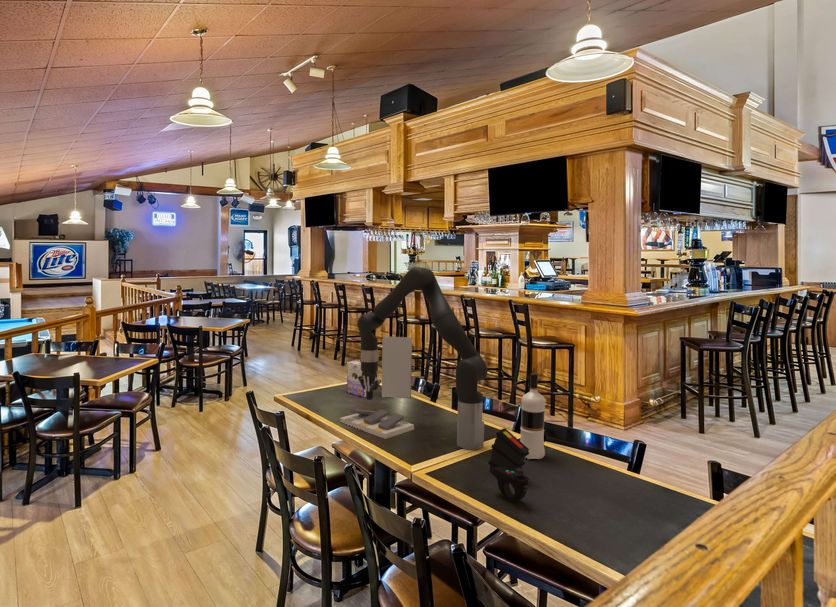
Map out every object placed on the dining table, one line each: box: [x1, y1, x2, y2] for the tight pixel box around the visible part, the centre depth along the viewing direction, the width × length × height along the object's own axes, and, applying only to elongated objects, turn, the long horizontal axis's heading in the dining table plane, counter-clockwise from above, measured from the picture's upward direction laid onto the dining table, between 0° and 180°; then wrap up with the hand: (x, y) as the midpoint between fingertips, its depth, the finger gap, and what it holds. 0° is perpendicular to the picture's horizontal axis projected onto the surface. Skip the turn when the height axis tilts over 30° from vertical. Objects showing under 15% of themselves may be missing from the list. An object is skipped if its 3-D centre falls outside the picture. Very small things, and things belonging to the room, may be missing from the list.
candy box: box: [346, 360, 366, 398], centre depth 264 cm, size 14×6×16 cm, turn 46°
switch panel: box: [339, 410, 415, 440], centre depth 216 cm, size 28×16×3 cm, turn 47°
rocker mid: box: [363, 408, 390, 424], centre depth 215 cm, size 5×10×1 cm, turn 137°
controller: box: [491, 466, 530, 502], centre depth 152 cm, size 4×12×10 cm, turn 39°
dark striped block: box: [487, 427, 529, 475], centre depth 168 cm, size 4×13×15 cm, turn 45°
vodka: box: [519, 372, 546, 460], centre depth 185 cm, size 9×9×30 cm
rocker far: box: [350, 408, 376, 415], centre depth 222 cm, size 5×10×1 cm, turn 137°
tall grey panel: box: [381, 336, 413, 399], centre depth 261 cm, size 14×6×30 cm, turn 84°
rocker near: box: [378, 413, 405, 430], centre depth 209 cm, size 5×10×1 cm, turn 137°
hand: (369, 399), depth 224 cm, fingers closed
